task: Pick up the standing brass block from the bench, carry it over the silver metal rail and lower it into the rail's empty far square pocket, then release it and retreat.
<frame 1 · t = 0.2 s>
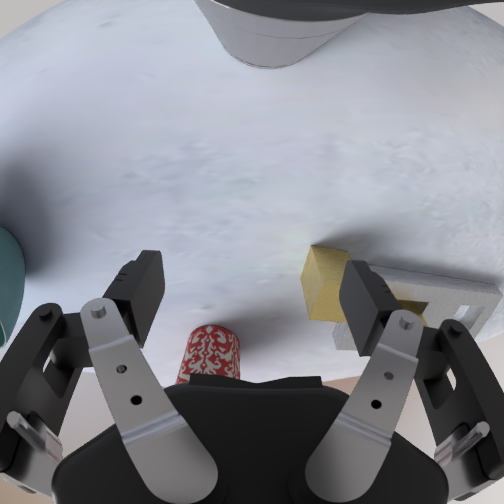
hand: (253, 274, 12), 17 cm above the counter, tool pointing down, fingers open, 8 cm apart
rail: (426, 308, 37), on the counter
mug: (215, 348, 40), on the counter
seated brass block: (390, 305, 36), resting in rail
teal bowl: (7, 250, 32), on the counter
brass block: (323, 265, 33), on the counter
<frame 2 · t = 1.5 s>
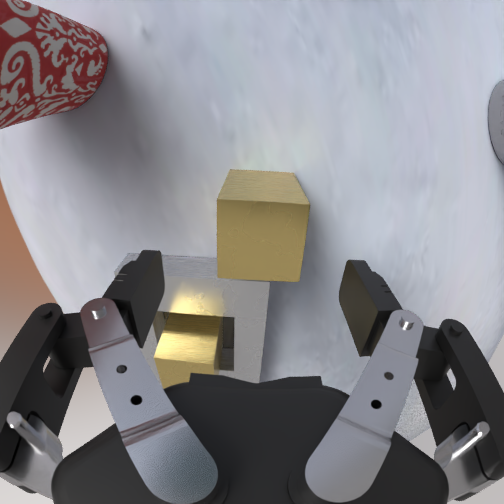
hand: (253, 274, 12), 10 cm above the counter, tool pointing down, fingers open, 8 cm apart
rail: (204, 366, 30), on the counter
mug: (58, 76, 16), on the counter
seated brass block: (199, 320, 27), resting in rail
brass block: (260, 200, 21), on the counter
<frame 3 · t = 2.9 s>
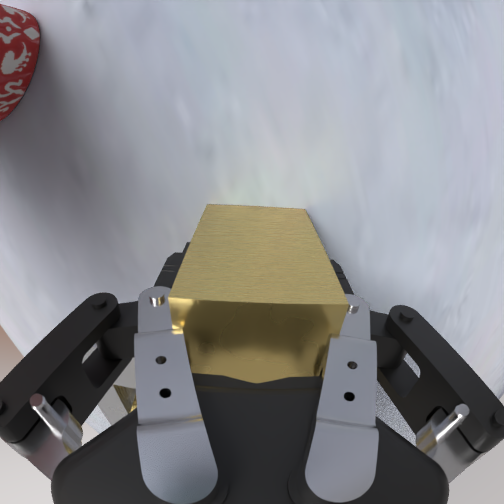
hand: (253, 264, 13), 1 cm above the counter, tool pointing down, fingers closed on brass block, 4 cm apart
rail: (188, 426, 23), on the counter
brass block: (253, 250, 14), on the counter, touching gripper
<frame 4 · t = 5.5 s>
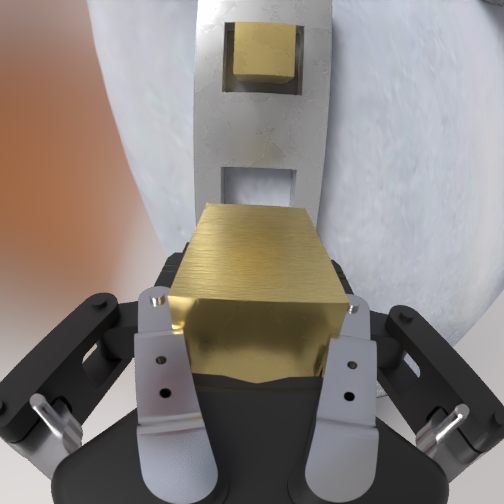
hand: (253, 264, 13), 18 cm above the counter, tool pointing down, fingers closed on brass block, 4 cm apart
rail: (260, 128, 26), on the counter
seated brass block: (262, 61, 23), resting in rail
brass block: (253, 249, 14), point 17 cm above the counter, touching gripper
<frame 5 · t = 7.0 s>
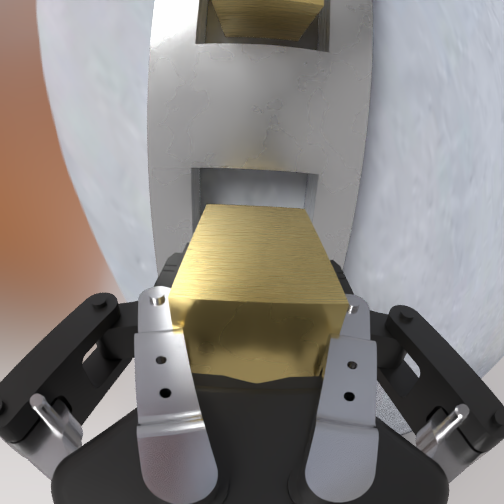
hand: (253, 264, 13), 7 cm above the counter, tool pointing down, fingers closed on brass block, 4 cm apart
rail: (257, 106, 16), on the counter
seated brass block: (263, 9, 13), resting in rail
brass block: (253, 249, 14), point 6 cm above the counter, touching gripper
when the fingers open (3 cm above the counter, at t = 8.3 s): brass block drops 2 cm, resting in rail.
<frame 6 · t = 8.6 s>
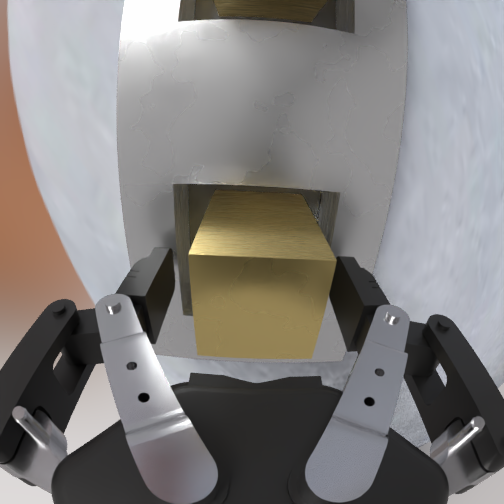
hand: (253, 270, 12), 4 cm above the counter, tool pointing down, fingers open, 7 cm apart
rail: (260, 103, 12), on the counter
brass block: (256, 230, 16), resting in rail
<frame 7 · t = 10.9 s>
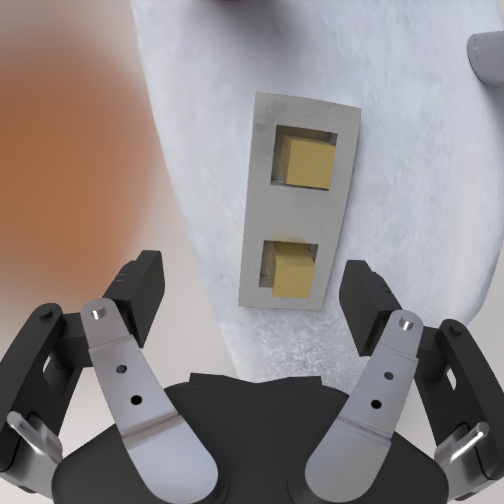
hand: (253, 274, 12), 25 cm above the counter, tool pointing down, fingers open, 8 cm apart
rail: (292, 207, 37), on the counter
seated brass block: (299, 154, 33), resting in rail
brass block: (286, 254, 40), resting in rail
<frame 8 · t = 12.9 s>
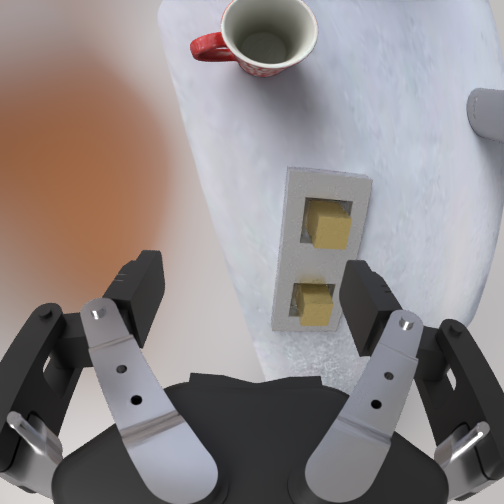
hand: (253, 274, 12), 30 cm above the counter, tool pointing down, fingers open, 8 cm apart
rail: (315, 255, 46), on the counter
mug: (250, 54, 32), on the counter
seated brass block: (321, 214, 43), resting in rail
brass block: (309, 289, 49), resting in rail
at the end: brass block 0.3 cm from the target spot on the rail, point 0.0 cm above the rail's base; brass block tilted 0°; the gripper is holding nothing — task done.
